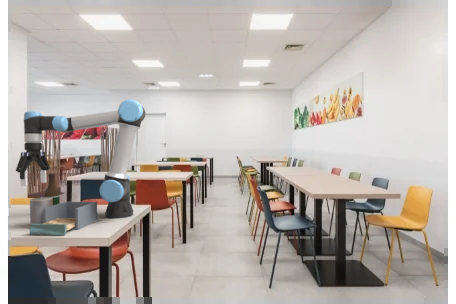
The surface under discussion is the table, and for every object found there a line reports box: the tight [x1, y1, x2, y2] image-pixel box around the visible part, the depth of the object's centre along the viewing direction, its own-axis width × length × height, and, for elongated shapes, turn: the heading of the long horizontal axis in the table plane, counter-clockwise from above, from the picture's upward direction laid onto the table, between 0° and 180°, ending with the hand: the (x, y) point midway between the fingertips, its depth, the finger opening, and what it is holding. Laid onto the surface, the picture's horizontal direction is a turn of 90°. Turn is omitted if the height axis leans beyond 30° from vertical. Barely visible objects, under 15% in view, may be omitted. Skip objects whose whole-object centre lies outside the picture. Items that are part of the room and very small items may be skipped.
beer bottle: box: [44, 173, 61, 205], centre depth 173 cm, size 8×8×24 cm
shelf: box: [29, 218, 76, 236], centre depth 140 cm, size 18×16×4 cm
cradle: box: [43, 201, 98, 231], centre depth 149 cm, size 18×17×10 cm
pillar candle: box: [29, 196, 53, 225], centre depth 147 cm, size 10×10×15 cm
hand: (34, 184), depth 151 cm, fingers open, 13 cm apart
